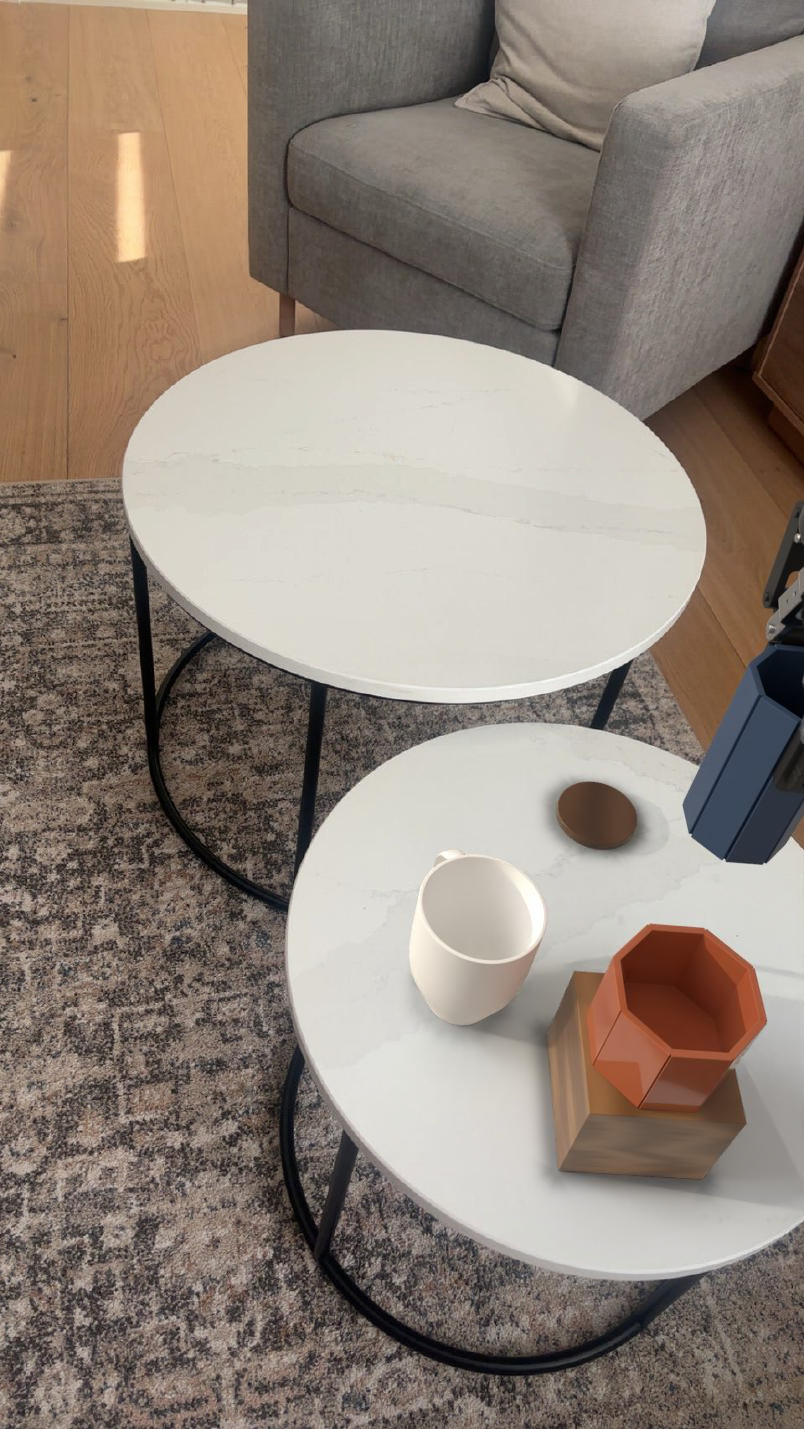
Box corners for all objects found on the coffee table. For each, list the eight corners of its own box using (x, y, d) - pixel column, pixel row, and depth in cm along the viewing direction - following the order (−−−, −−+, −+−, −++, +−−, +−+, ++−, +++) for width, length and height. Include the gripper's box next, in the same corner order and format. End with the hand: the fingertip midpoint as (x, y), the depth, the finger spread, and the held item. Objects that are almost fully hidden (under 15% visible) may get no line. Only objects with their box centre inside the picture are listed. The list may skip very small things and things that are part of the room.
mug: (531, 1037, 80) (567, 950, 71) (417, 1061, 78) (440, 973, 69) (482, 905, 88) (509, 812, 79) (376, 924, 85) (392, 829, 77)
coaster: (629, 790, 98) (631, 784, 98) (640, 853, 93) (642, 847, 93) (552, 783, 98) (554, 778, 97) (559, 846, 93) (561, 840, 92)
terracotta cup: (711, 986, 74) (746, 930, 69) (737, 1115, 68) (778, 1063, 63) (581, 977, 74) (607, 919, 69) (596, 1106, 67) (625, 1053, 62)
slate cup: (770, 788, 63) (848, 650, 55) (794, 867, 59) (880, 731, 51) (676, 780, 63) (741, 640, 55) (693, 860, 59) (766, 721, 51)
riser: (678, 1043, 81) (717, 980, 75) (702, 1179, 74) (747, 1123, 68) (546, 1033, 80) (573, 970, 74) (557, 1170, 73) (589, 1113, 67)
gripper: (1094, 583, 39) (889, 859, 51) (957, 380, 49) (813, 652, 61) (895, 563, 39) (735, 847, 51) (797, 362, 49) (683, 640, 61)
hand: (778, 739), depth 56 cm, fingers closed on slate cup, 5 cm apart
